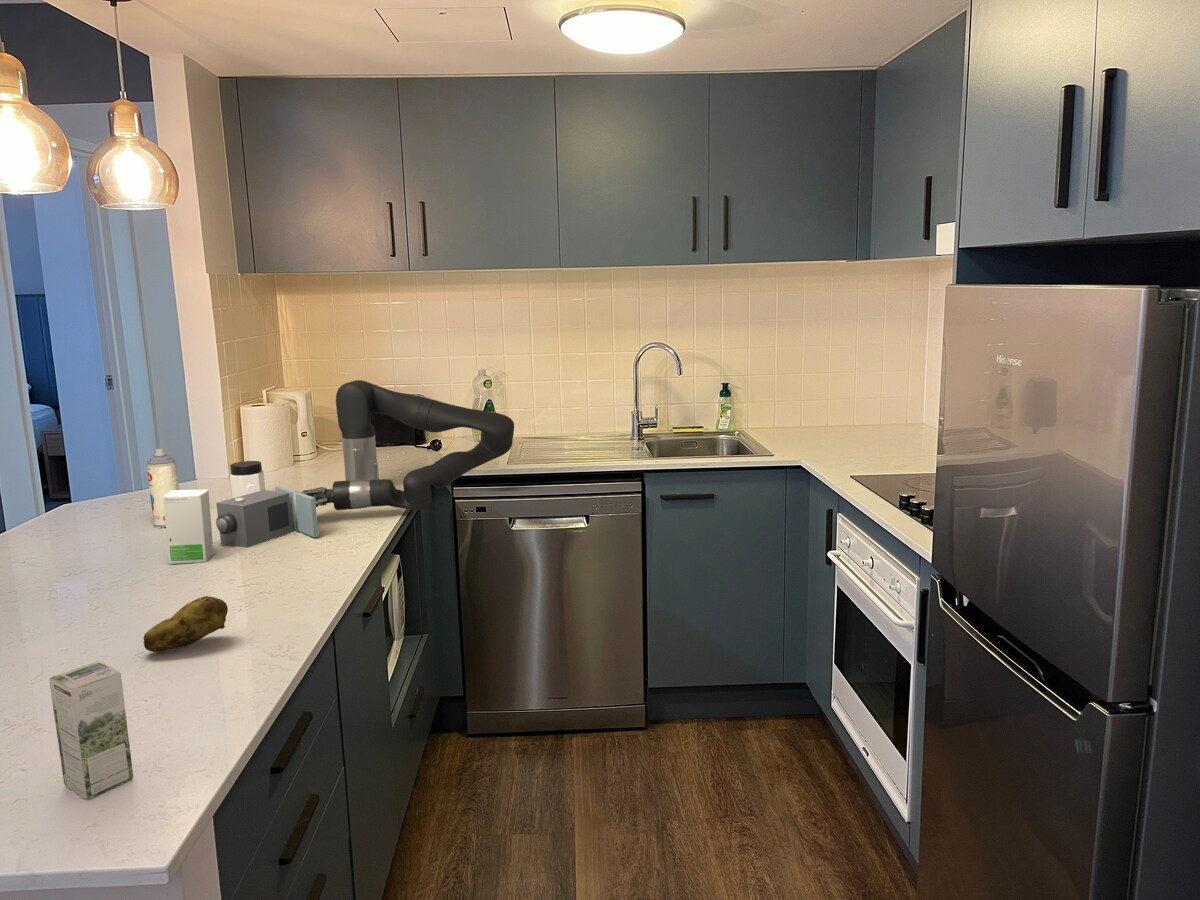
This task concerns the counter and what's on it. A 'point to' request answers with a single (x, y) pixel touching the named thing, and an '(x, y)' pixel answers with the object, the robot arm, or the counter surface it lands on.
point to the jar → (246, 478)
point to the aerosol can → (161, 483)
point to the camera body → (254, 518)
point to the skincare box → (188, 526)
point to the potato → (187, 625)
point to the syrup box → (91, 729)
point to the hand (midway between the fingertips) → (283, 499)
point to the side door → (302, 511)
